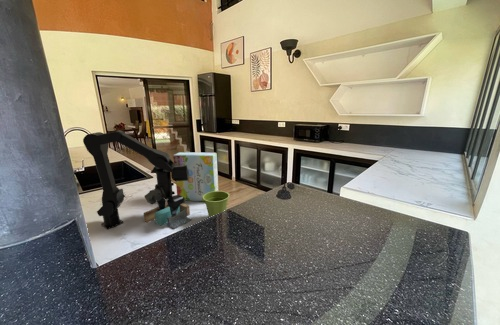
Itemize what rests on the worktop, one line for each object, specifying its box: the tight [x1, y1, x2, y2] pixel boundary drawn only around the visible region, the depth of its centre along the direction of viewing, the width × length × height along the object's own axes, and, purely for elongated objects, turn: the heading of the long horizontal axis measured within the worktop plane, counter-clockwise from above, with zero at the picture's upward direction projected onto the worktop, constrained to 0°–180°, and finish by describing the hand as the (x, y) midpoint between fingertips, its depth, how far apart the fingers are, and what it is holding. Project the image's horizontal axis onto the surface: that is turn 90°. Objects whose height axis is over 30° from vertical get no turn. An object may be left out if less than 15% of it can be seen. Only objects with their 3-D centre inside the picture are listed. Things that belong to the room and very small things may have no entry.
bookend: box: [167, 210, 192, 230], centre depth 92 cm, size 4×9×4 cm, turn 145°
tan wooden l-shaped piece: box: [143, 203, 191, 224], centre depth 96 cm, size 11×16×4 cm
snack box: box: [172, 151, 219, 202], centre depth 114 cm, size 22×9×26 cm, turn 84°
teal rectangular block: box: [154, 207, 180, 226], centre depth 95 cm, size 4×10×5 cm, turn 145°
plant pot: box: [203, 190, 230, 218], centre depth 95 cm, size 12×12×11 cm
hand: (168, 214), depth 95 cm, fingers open, 8 cm apart
